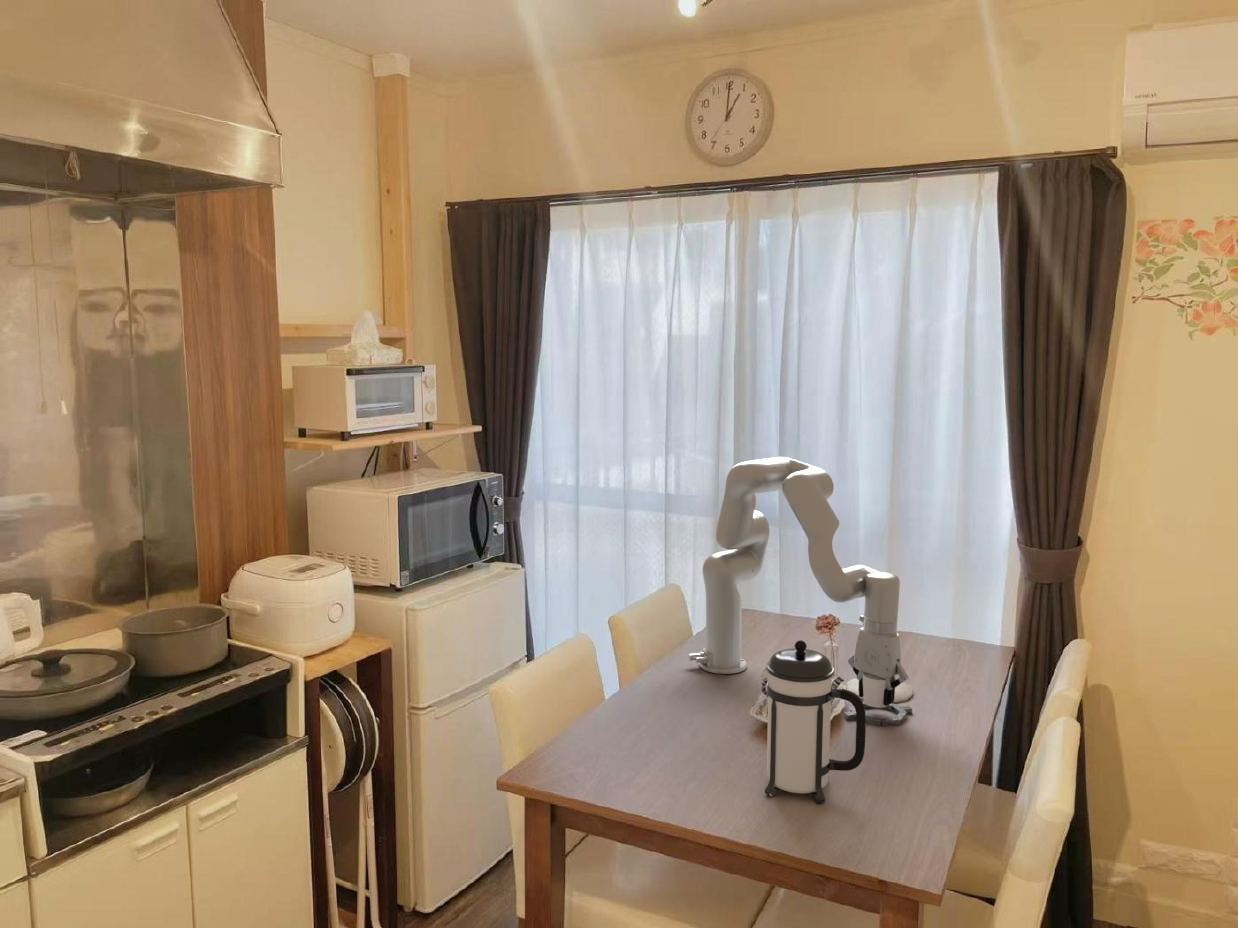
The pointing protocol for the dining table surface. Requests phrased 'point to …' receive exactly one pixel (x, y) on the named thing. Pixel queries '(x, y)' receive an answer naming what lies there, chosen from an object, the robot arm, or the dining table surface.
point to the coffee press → (804, 722)
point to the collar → (896, 720)
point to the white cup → (874, 690)
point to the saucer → (901, 691)
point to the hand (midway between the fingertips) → (875, 698)
